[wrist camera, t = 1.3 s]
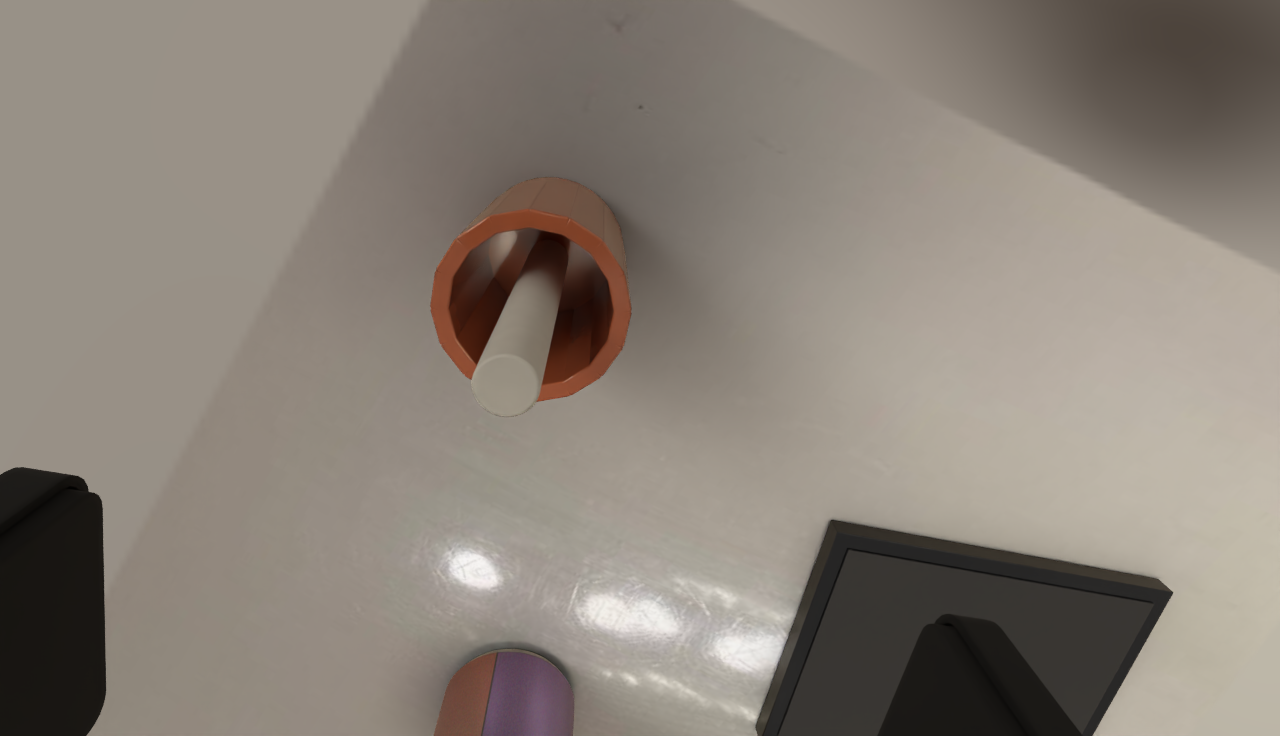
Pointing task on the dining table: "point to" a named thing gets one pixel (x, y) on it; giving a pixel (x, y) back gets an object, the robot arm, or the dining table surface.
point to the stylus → (522, 335)
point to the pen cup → (494, 258)
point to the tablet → (949, 584)
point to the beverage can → (507, 698)
